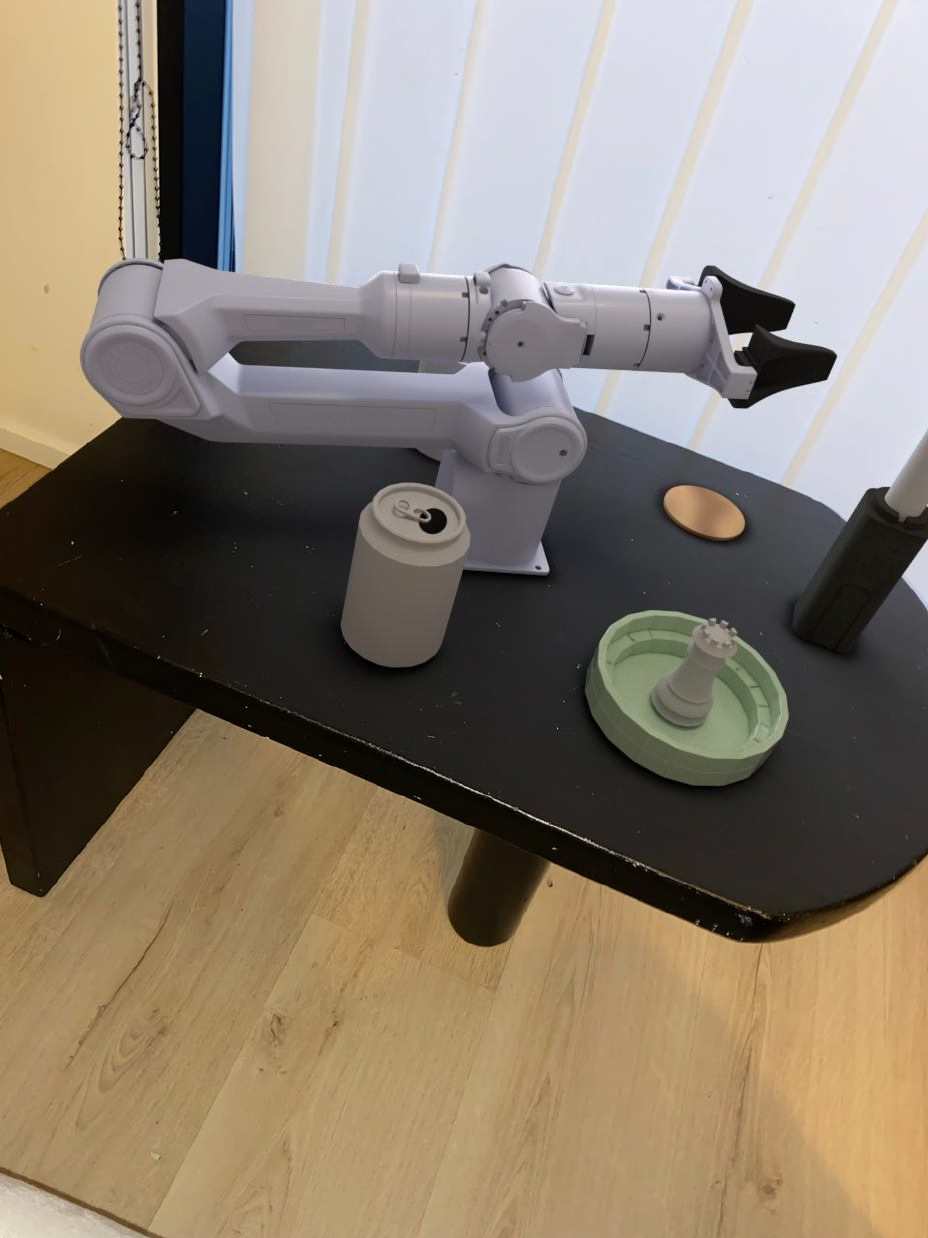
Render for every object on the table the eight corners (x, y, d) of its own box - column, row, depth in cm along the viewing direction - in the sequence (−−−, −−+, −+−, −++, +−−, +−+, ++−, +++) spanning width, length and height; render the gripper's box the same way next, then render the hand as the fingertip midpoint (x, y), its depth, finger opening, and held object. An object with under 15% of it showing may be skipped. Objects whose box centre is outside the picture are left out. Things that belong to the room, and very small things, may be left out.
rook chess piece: (642, 682, 71) (682, 605, 66) (697, 687, 72) (740, 611, 67) (656, 728, 68) (698, 651, 63) (713, 732, 69) (760, 657, 64)
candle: (850, 621, 83) (1024, 368, 66) (849, 657, 79) (1033, 399, 63) (794, 599, 84) (953, 343, 67) (791, 635, 80) (957, 372, 63)
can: (427, 688, 66) (464, 559, 58) (325, 657, 66) (348, 524, 58) (449, 620, 72) (485, 493, 64) (355, 591, 72) (379, 461, 64)
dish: (610, 788, 64) (627, 756, 61) (565, 637, 73) (578, 604, 71) (796, 791, 67) (819, 760, 65) (729, 646, 77) (747, 615, 75)
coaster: (677, 537, 87) (679, 533, 86) (653, 484, 92) (654, 481, 92) (755, 544, 89) (757, 540, 88) (726, 492, 94) (728, 489, 94)
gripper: (682, 326, 60) (875, 337, 63) (623, 232, 70) (791, 245, 73) (652, 422, 65) (832, 429, 67) (601, 320, 75) (759, 330, 78)
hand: (809, 339), depth 70 cm, fingers open, 7 cm apart
